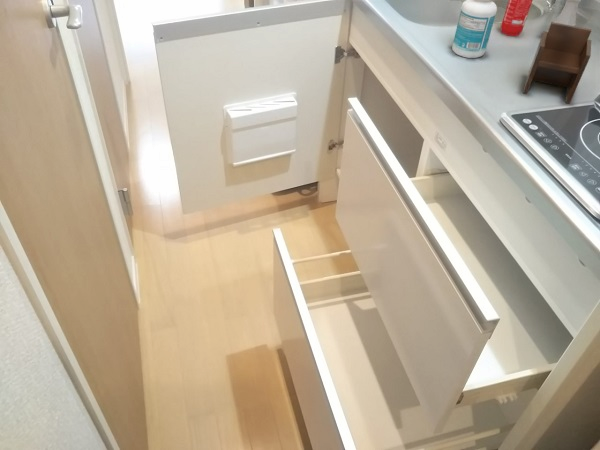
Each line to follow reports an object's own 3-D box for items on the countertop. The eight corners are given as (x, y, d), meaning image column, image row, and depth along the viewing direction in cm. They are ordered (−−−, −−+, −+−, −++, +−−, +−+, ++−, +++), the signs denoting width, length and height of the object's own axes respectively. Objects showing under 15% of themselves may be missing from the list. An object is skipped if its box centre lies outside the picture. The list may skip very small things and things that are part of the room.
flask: (580, 41, 126) (598, -1, 119) (562, 48, 123) (579, 4, 116) (554, 31, 130) (570, -11, 123) (536, 37, 127) (551, -6, 120)
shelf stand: (571, 86, 108) (595, 30, 100) (569, 104, 103) (595, 45, 95) (526, 77, 111) (547, 21, 102) (522, 93, 105) (544, 35, 97)
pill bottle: (469, 43, 122) (485, -17, 113) (491, 56, 118) (509, -6, 108) (444, 48, 120) (458, -13, 111) (465, 61, 115) (482, -1, 106)
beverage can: (498, 34, 127) (514, -17, 119) (500, 27, 131) (515, -24, 122) (520, 38, 126) (537, -14, 118) (521, 30, 129) (538, -20, 121)
